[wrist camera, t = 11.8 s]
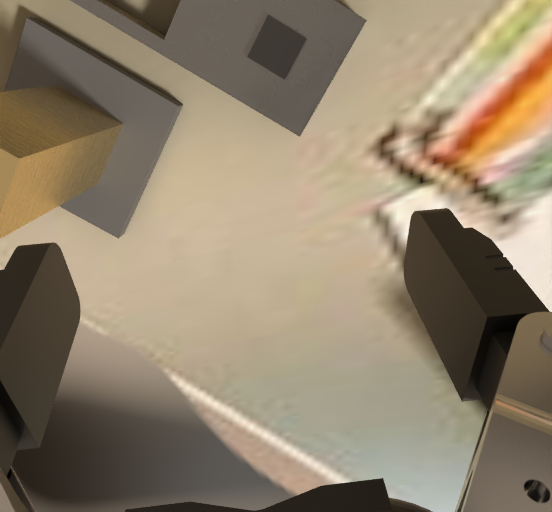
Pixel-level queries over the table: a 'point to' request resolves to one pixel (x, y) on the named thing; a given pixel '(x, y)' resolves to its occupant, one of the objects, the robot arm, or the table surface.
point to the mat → (111, 100)
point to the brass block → (48, 151)
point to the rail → (253, 48)
